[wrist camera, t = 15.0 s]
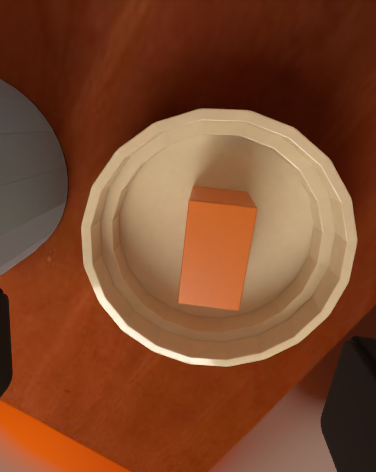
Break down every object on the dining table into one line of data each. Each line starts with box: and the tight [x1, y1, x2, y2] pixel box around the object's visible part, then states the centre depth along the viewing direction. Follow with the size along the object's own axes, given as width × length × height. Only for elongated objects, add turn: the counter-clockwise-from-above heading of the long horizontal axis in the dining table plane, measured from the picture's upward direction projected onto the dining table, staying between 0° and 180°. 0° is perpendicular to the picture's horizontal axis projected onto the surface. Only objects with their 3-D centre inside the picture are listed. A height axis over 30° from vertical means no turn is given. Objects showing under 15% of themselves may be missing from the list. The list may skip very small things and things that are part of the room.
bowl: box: [81, 108, 357, 367], centre depth 22 cm, size 16×16×4 cm
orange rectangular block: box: [178, 186, 257, 311], centre depth 21 cm, size 6×4×5 cm, turn 174°
